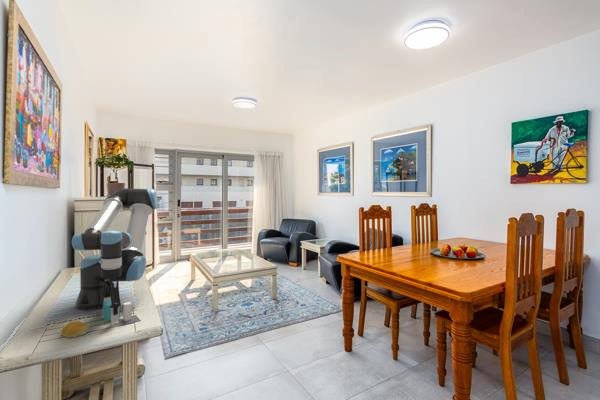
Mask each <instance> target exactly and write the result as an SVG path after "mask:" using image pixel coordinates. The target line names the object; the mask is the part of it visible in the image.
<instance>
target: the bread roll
mask: <svg viewBox="0 0 600 400" xmlns="http://www.w3.org/2000/svg"><path fill="white" fill-rule="evenodd" d="M89 331H90V325H89V323H85V322H83V321H80V320H75V321H72V322H71V321H70V322H69V323H67V324H66V325H64V326H63V328H62V329H61V331H60V333H61V335H62V336H63V337H66V338H69V339H70V338H76V337H77V338H78V337H81V336H84V335H86V334H87V333H88V332H89Z"/></svg>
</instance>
